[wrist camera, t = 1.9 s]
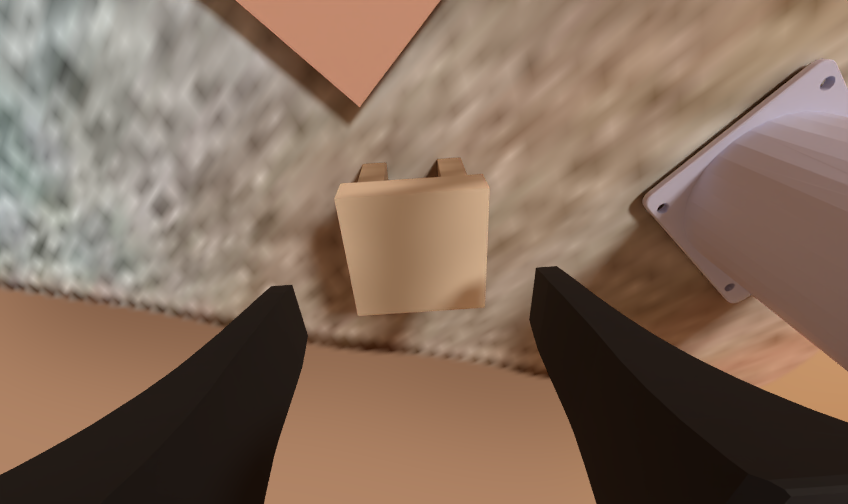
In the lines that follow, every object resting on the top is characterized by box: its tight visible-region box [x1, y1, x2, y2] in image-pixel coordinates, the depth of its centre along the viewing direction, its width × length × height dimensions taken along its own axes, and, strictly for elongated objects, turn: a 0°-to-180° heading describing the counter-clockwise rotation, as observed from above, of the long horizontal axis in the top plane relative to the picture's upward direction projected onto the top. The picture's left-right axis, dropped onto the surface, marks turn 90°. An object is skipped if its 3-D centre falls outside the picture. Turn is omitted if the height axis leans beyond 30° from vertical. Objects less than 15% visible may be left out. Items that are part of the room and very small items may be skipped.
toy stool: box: [335, 158, 490, 316], centre depth 15 cm, size 5×5×4 cm
